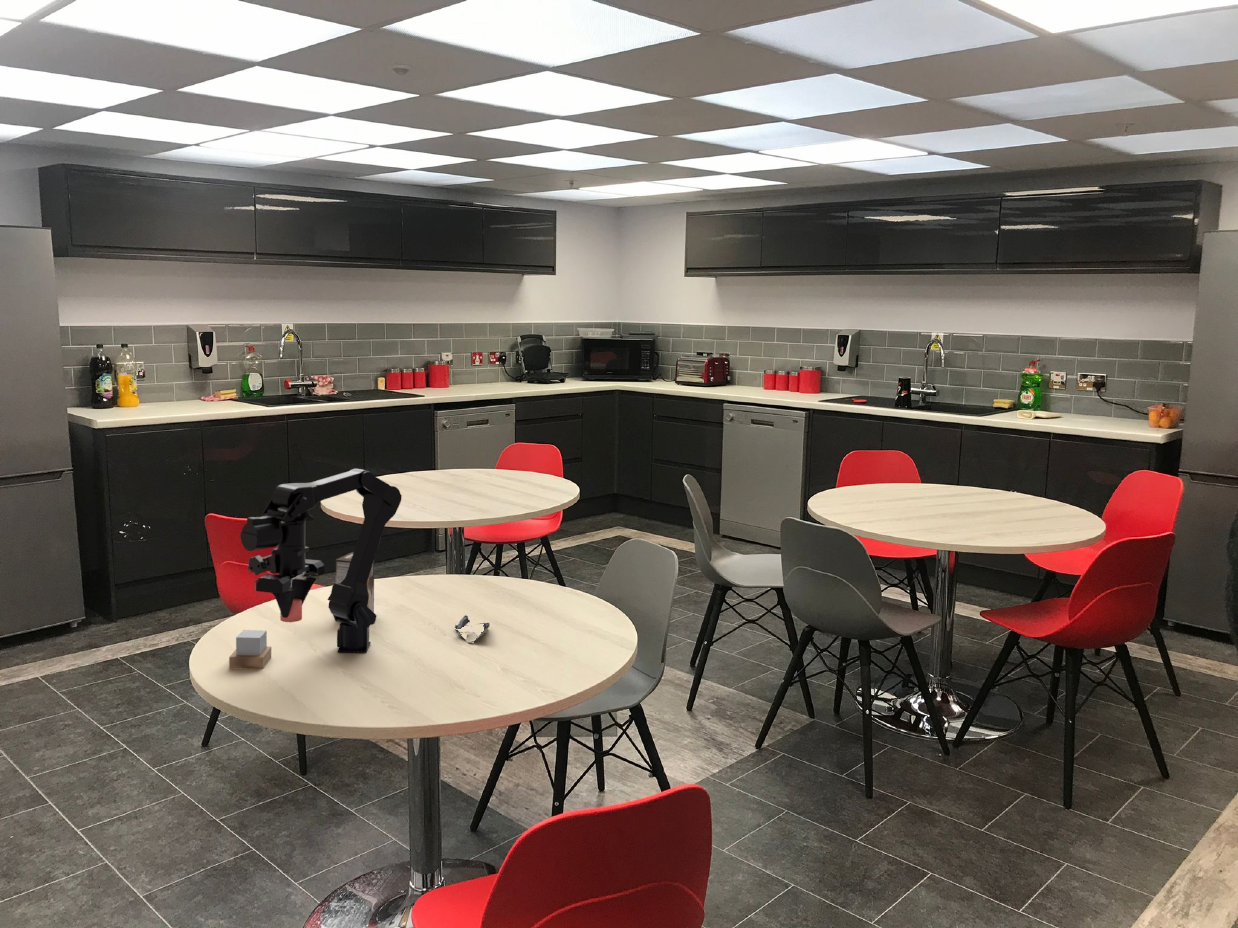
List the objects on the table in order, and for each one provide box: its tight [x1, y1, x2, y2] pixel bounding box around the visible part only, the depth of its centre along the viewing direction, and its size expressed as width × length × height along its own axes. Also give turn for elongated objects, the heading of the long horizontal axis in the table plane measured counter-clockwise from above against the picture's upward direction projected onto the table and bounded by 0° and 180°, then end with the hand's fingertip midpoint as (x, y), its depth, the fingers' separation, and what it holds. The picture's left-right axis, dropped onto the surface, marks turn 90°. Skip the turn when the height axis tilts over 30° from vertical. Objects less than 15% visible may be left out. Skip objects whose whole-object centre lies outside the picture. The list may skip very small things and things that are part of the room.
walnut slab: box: [228, 646, 272, 670], centre depth 204 cm, size 7×7×3 cm
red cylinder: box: [279, 598, 303, 623], centre depth 201 cm, size 4×4×4 cm
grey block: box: [235, 629, 268, 656], centre depth 204 cm, size 5×5×4 cm
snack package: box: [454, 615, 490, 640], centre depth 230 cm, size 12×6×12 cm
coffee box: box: [335, 551, 375, 613], centre depth 239 cm, size 9×6×16 cm
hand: (291, 614), depth 201 cm, fingers closed on red cylinder, 4 cm apart
